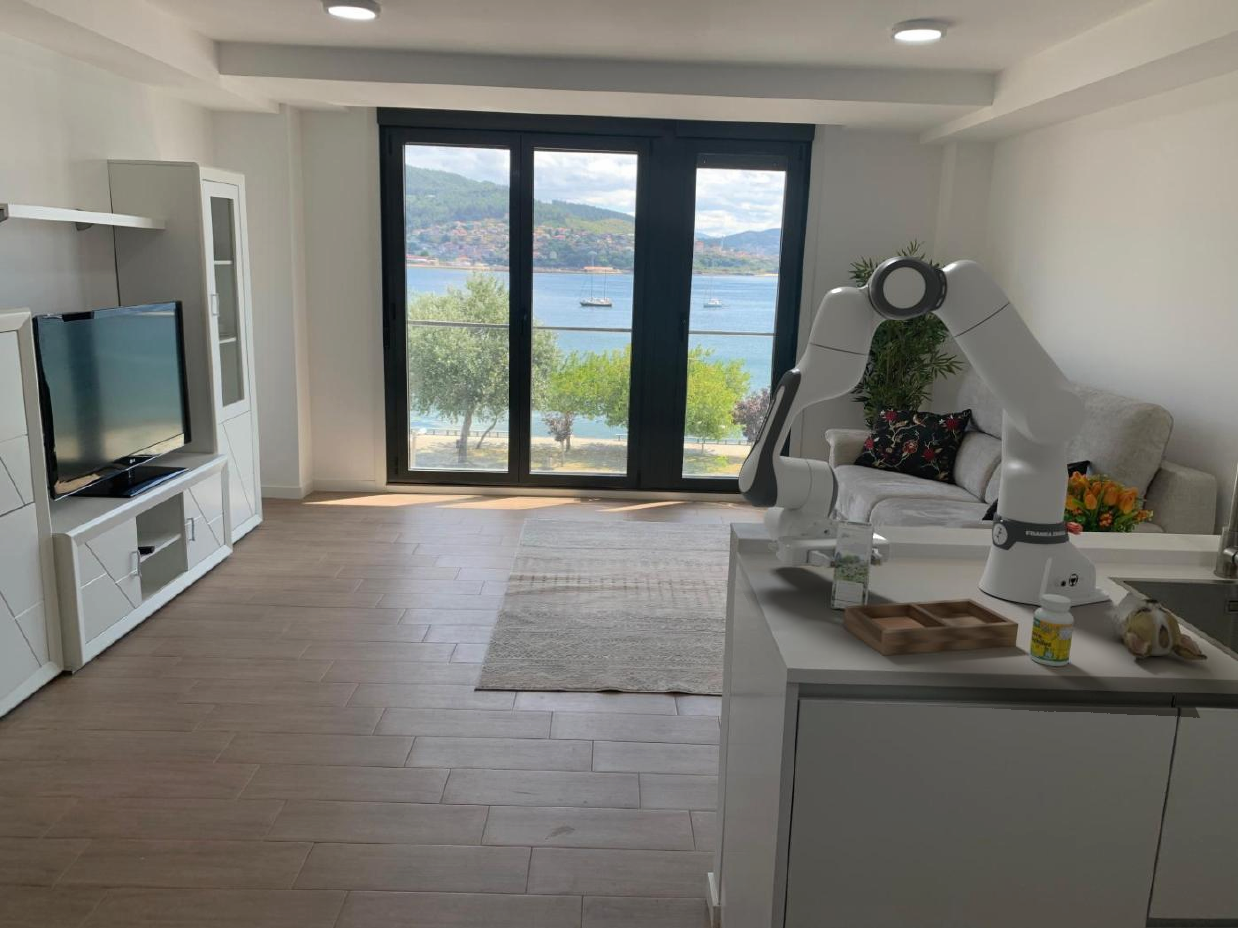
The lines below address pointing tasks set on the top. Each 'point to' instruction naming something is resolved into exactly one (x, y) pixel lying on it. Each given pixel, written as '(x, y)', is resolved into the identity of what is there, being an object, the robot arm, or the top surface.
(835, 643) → the top surface
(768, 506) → the robot arm
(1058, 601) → the supplement bottle
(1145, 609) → the tan plush toy
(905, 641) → the divided wooden tray
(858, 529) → the syrup box
